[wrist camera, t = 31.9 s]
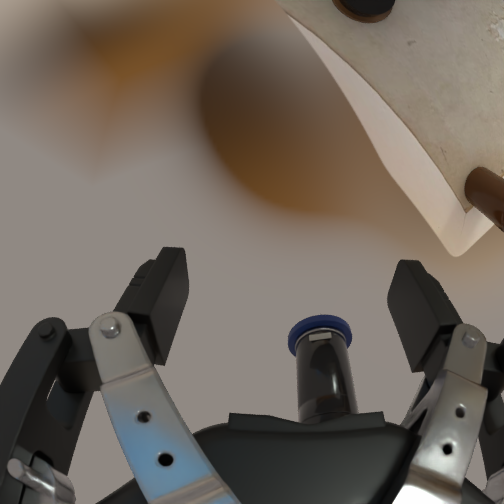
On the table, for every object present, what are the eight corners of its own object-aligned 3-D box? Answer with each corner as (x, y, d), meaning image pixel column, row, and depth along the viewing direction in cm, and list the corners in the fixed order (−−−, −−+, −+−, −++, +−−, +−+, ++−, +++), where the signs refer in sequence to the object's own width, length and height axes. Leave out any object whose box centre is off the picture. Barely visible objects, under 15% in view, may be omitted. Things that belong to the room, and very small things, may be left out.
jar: (487, 207, 36) (531, 245, 26) (460, 203, 36) (505, 243, 26) (496, 170, 33) (545, 202, 22) (469, 163, 33) (519, 195, 23)
